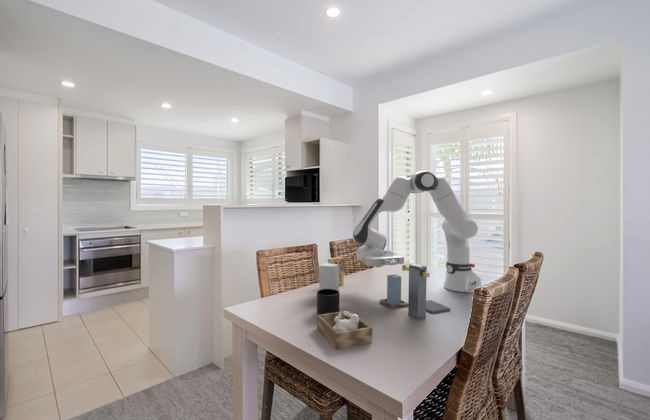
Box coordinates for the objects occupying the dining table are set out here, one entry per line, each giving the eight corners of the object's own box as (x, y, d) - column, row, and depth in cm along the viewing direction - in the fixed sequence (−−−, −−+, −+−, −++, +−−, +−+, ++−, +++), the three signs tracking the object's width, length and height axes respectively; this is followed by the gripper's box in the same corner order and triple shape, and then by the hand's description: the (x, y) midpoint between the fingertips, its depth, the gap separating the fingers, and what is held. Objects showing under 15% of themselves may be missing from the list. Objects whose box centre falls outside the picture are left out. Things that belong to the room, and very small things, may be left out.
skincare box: (339, 295, 152) (339, 264, 152) (333, 298, 146) (333, 266, 146) (324, 292, 156) (324, 262, 155) (318, 296, 150) (318, 264, 150)
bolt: (406, 269, 133) (406, 264, 133) (430, 277, 119) (430, 271, 119) (402, 270, 132) (402, 264, 132) (425, 278, 118) (425, 272, 118)
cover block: (394, 301, 142) (395, 274, 142) (400, 305, 138) (401, 276, 138) (386, 303, 141) (387, 275, 140) (392, 306, 137) (393, 277, 136)
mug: (343, 309, 132) (343, 288, 132) (335, 319, 121) (335, 296, 121) (323, 306, 135) (323, 286, 135) (313, 315, 124) (313, 294, 124)
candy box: (339, 283, 174) (339, 256, 174) (344, 284, 171) (344, 257, 171) (327, 285, 169) (327, 258, 168) (332, 287, 166) (332, 259, 165)
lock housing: (415, 313, 128) (416, 263, 128) (425, 318, 123) (426, 266, 122) (408, 314, 127) (409, 264, 126) (417, 319, 121) (418, 267, 121)
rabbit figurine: (365, 334, 108) (365, 307, 108) (364, 343, 101) (365, 314, 101) (331, 332, 110) (331, 305, 110) (329, 341, 103) (329, 312, 102)
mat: (430, 302, 143) (430, 299, 143) (450, 310, 132) (450, 308, 132) (413, 304, 139) (413, 302, 139) (432, 313, 128) (432, 311, 128)
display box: (348, 323, 117) (349, 310, 117) (372, 342, 101) (372, 327, 101) (317, 328, 112) (317, 315, 112) (336, 349, 96) (336, 333, 96)
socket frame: (396, 299, 146) (396, 297, 146) (409, 306, 137) (409, 303, 137) (379, 301, 142) (379, 299, 142) (391, 308, 133) (391, 306, 133)
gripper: (359, 252, 148) (374, 257, 135) (394, 250, 156) (411, 255, 143) (359, 265, 148) (374, 271, 135) (393, 263, 156) (411, 268, 143)
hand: (393, 263), depth 139 cm, fingers closed
